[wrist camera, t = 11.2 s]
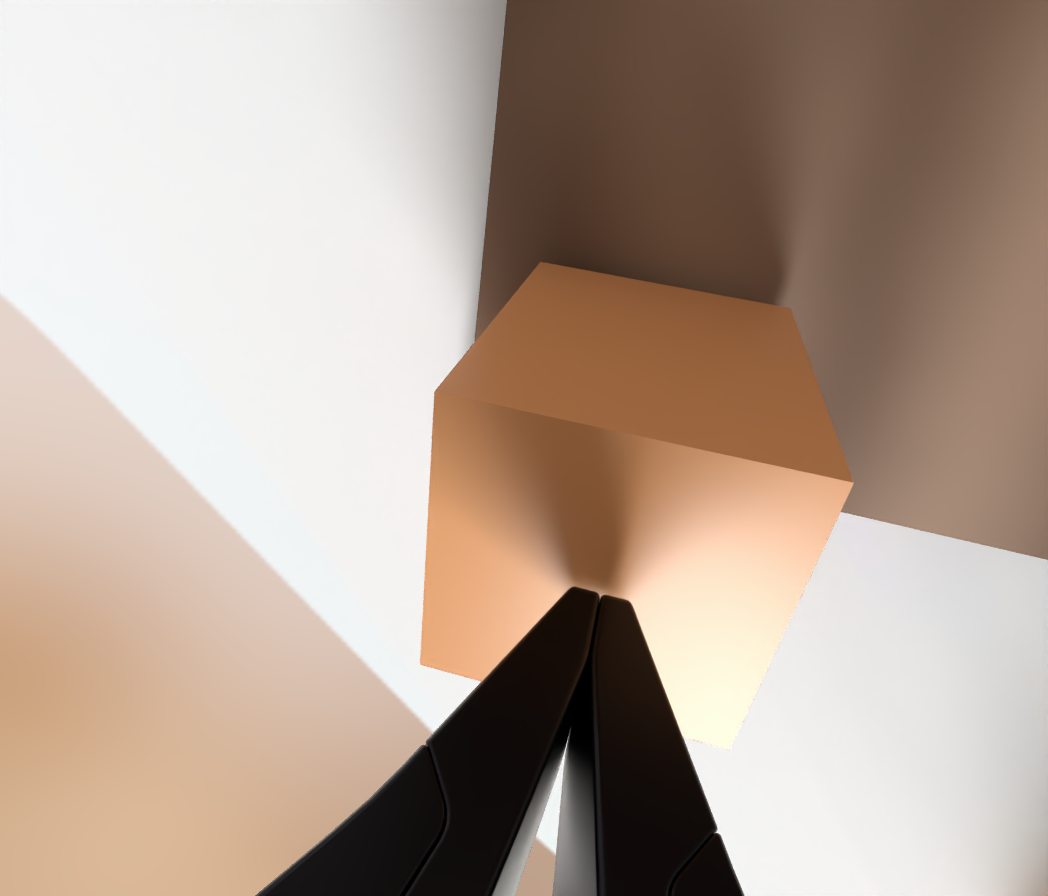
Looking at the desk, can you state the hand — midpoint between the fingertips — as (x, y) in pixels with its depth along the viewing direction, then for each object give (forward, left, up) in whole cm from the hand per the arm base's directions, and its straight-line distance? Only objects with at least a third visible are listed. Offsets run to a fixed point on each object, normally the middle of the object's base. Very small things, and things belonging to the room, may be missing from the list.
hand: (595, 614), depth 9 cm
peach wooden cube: (0, 0, -7) cm, 7 cm away
